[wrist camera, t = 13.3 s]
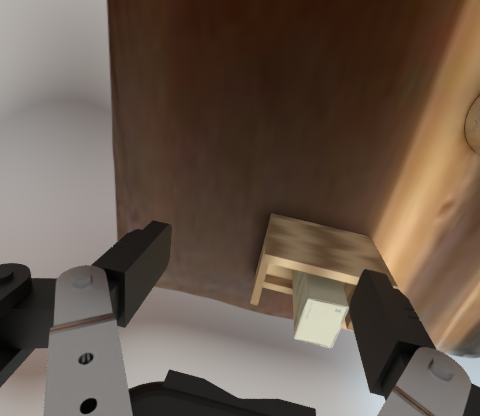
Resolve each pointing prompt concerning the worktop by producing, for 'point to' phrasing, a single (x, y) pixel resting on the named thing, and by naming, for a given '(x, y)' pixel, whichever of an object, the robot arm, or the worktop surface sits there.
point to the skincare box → (317, 308)
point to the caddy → (314, 256)
